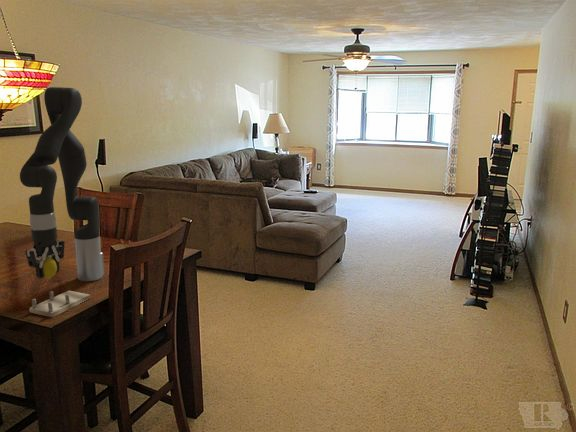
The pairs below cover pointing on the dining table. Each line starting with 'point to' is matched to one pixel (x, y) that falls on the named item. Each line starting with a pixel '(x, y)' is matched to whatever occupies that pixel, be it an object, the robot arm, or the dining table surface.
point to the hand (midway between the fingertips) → (48, 274)
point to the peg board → (58, 303)
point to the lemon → (49, 267)
